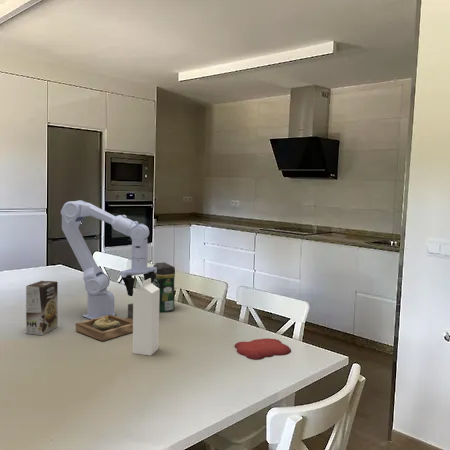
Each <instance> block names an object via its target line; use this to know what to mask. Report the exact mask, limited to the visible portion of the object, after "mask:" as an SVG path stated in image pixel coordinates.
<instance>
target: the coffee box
mask: <svg viewBox="0 0 450 450" xmlns="http://www.w3.org/2000/svg"><path fill="white" fill-rule="evenodd" d="M58 286H59V283H58V281H54V280H40V281H37V282H34V283H30V284H28V285H26V287H25V289H26V290H25V292H26V293H25V295H26V297H25V299H26V300H25V308H26V309H25V311H26V312H25V314H26V315H25V316H26V317H25V326H26V329H25V334H26V335H27V334H28V335H36V336H37V335H38V336H44V335H47V334H48V333H49V332H51V331H53V330H56V329H58V326H59V325H58V321H59V319H58V315H59V314H58V311H59V309H58V308H59V307H58V293H59V292H58V290H59V289H58Z"/></svg>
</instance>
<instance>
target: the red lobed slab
mask: <svg viewBox="0 0 450 450" xmlns="http://www.w3.org/2000/svg"><path fill="white" fill-rule="evenodd" d="M234 348H235V349H236V353H237V354H238V355H240V356H244V357H246V358H247V359H248V360H252V361H253V360H254V361H259V360H260V361H261V360H263V359H265V358H272V357H274V356H278V357H279V356H286V355H289V354H291V352H292V348H290V347H289V345H287V344H284V343H283V342H282V341H281V340H279V339H276V338H260V339H257V338H256V339H253V340H250V341H249V340H248V341H239V342H235V344H234Z"/></svg>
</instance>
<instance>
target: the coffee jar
mask: <svg viewBox="0 0 450 450" xmlns="http://www.w3.org/2000/svg"><path fill="white" fill-rule="evenodd" d="M152 267H157V273H155V274H156V278H155V279H154V281H153V283H152V284H153V285H155V286H156V287H158V288H159V289H160V296H159V313H160V312H162V313H168V312H171V311H174V310H175V276H176V270H175V269H176V268H175V267H174V266H173V265H171V264H168V263H167V262H156V263H155V264H154V265H153V266H152Z"/></svg>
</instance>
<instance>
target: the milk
mask: <svg viewBox="0 0 450 450" xmlns="http://www.w3.org/2000/svg"><path fill="white" fill-rule="evenodd" d="M159 296H160V289H159V288H158V287H156V286H155V285H153V283H151V278H149V279H147V280H143V281H142V285H141V287H139V288H138V289H135V290H133V296H132V298H133V299H132V300H133V301H132V304H133V332H132V354H136V355H143V356H150V357H151V356H152V355H154V353H156V352H157V351H158V350H159V340H160V312H159Z"/></svg>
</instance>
